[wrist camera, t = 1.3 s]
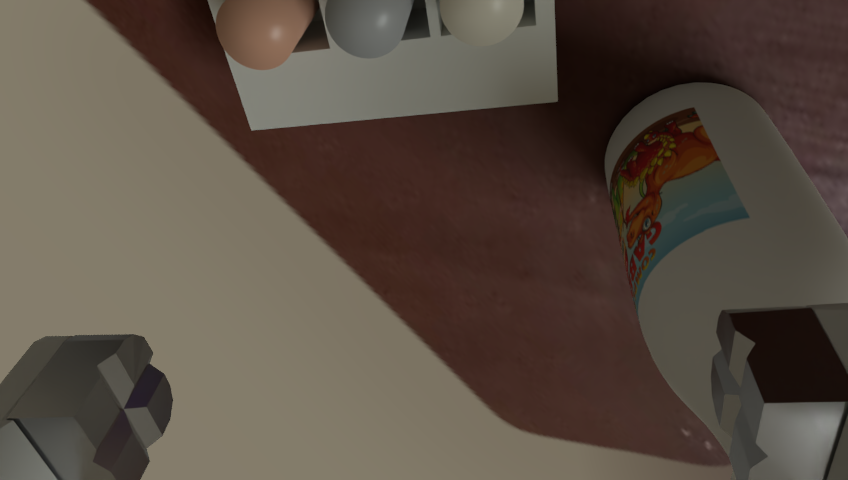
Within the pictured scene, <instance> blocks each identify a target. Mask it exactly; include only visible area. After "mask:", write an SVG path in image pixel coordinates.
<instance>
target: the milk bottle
mask: <svg viewBox="0 0 848 480" xmlns="http://www.w3.org/2000/svg"><path fill="white" fill-rule="evenodd" d="M605 174H606V180H607V186H608V191H609V196H610V200H611V205H612V210H613V214H614V219H615V223H616V228H617V232H618V237H619V241H620V246H621V250H622V255H623V259H624V263H625V267H626V272H627V276H628V280H629V284H630V289H631V293H632V297H633V301H634V305H635V309H636V312H637V316H638V319H639V323H640V326H641V330H642V333H643V336H644V339H645V341H646V344H647V346H648V349H649V351H650V353H651V356H652V358H653V360H654V362H655V364H656V365H657V367H658V369H659V371H660V372H661V374H662V376H663V377H664V379H665V380H666V381H667V383H668V384H669V386H670V387H671V388H672V390H673V391H674V392H675V393H676V394H677V395H678V397H679V398H680V399H681V400H682V401H683V402H684V403H685V404H686V405H687V406H688V407H689V408H690V409H691V410H692V411H693V412H694V413H695V414H696V415H697V416H698V417H699V418H700V419H701V420H702V421H703V423H704V424H705V425H706V426H707V427H708V428H709V429H710V431H711V432H712V433H713V434H714V436H715V437H716V438H717V440H718V441H719V443H720V444H721V446H722V447H723V448H724V450H725V451H726V453H727V455H728V456H729V453H730V447H731V441H732V437H731V436H730V435H728V434H727V433H726V432H725V431H724V430H722V429H721V428H720V426H719V423H718V419H717V416H716V413H715V408H714V403H713V398H712V388H711V369H712V359H713V356H714V355H716V354H717V353H718V352H719V351H720V350H721V349H722V348H721V345H720V343H719V340H718V337H717V334H716V329H717V323H718V317H719V315H720V313H721V311H722V310H729V309H749V308H769V307H790V306H804V307H805V306H806V305H818V304H836V303H848V239H847V237H846V235H845V233H844V232H843V230H842V228H841V227H840V225H839V224H838V222H837V221H836V219H835V217H834V216H833V214H832V213H831V211H830V210H829V208H828V206H827V205H826V203H825V202H824V200H823V199H822V197H821V195H820V194H819V192H818V191H817V189H816V188H815V186H814V184H813V183H812V181H811V180H810V178H809V177H808V175H807V174H806V172H805V171H804V169H803V168H802V166H801V165H800V163H799V162H798V160H797V159H796V157H795V155H794V154H793V152H792V151H791V149H790V148H789V146H788V145H787V143H786V142H785V140H784V139H783V137H782V136H781V134H780V133H779V131H778V130H777V128H776V127H775V125H774V124H773V122H772V121H771V119H770V118H769V117H768V115H767V114H766V113H765V111H764V110H763V109H762V107H761V106H760V105H759V104H758V103H757V102H756V101H755V100H754V99H753V98H751V97H750V96H748V95H747V94H745V93H744V92H742V91H740V90H738V89H735V88H732V87H730V86H726V85H722V84H716V83H699V82H694V83H688V84H680V85H676V86H673V87H670V88H667V89H663V90H661V91H659V92H657V93H655V94H653V95H651V96H649V97H647V98H646V99H644V100H643V101H642V102H640V103H639V104H638V105H636V106H635V107H633V109H632V110H631V111H630V112H629V113H628V114H627V115H626V116H625V117H624V118H623V119H622V120H621V122H620V123H619V125H618V126H617V127H616V129H615V131H614V132H613V134H612V136H611V138H610V141H609V143H608V146H607V150H606V154H605ZM731 480H736V477H735V474H734V470H733V473H732V477H731Z"/></svg>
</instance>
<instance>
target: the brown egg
mask: <svg viewBox="0 0 848 480" xmlns="http://www.w3.org/2000/svg"><path fill="white" fill-rule="evenodd" d="M319 7H320V4H319V0H225V2H224V3H223V4H222V5H221V7H220V8H219V10H218V13H217V16H216V32H217V36H218V39H219V41H220V43H221V45H222V47H223V48H224V50H225V51H226V52H227V53H228V55H229V56H230V57H232V58H233V59H234V60H235V61H236V62H238V63H240V64H241V65H243V66H245V67H248V68H251V69H255V70H269V69H273V68H276V67H278V66H280V65H281V64H283V63H284V62H285V61H286V60H287V59H288V57H289V56H290V54H291V53H292V51H293V50H294V48H295V46H296V45H297V43H298V42H299V40H300V38H301V37H302V35H303V34H304V32H305V31H306V29H307V27H308V26H309V24H310V23H311V21H312V19H313V18H314V16H315V15H316V13H317V11H318V9H319Z"/></svg>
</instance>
